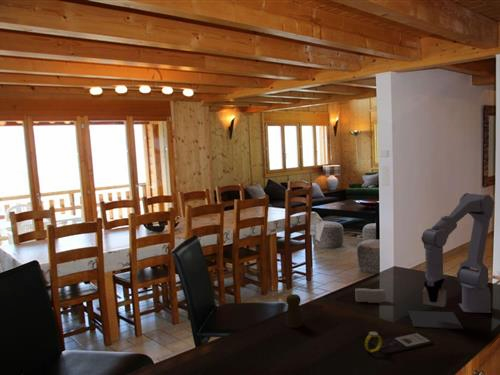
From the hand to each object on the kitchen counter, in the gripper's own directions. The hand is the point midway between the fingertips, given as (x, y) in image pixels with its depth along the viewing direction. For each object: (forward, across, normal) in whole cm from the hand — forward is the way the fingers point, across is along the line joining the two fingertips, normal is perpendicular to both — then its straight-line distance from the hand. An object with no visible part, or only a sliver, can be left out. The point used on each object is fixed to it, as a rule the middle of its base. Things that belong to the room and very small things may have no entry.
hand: (434, 299), depth 156 cm
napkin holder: (+9, +10, +27) cm, 30 cm away
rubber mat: (+8, +1, 0) cm, 8 cm away
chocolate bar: (+9, -23, +6) cm, 25 cm away
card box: (+1, 0, 0) cm, 1 cm away
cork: (+8, -24, +44) cm, 51 cm away
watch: (+8, -32, +12) cm, 35 cm away
